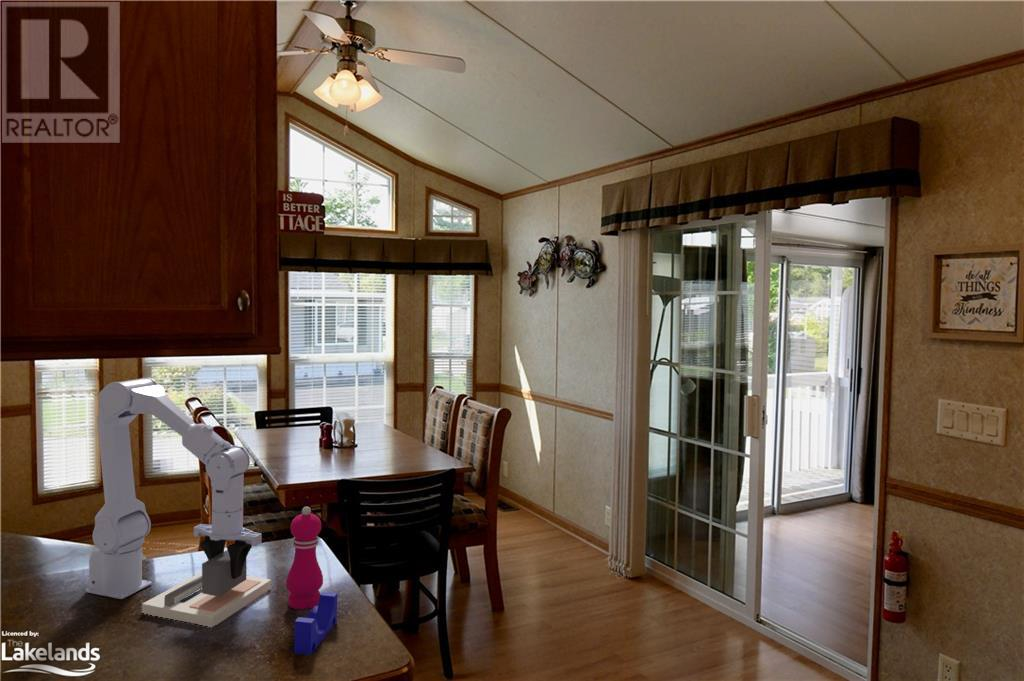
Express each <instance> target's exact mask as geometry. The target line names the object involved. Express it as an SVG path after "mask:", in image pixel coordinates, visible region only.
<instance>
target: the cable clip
mask: <svg viewBox="0 0 1024 681" xmlns="http://www.w3.org/2000/svg"><path fill="white" fill-rule="evenodd" d="M310 609H311V610H309V612H308V615H307V617H301V616H300V617H299V616H298V617H297V618H296V620H294V645H293V646H294V647H293V648H294V649H293V654H298V655H299V654H301V655H308V656H311V655H312V654H313V653H314V652H315V650H316V649H317V647H318V646H319V645H320V644H321V642H322V641H324V639H325V638H326V637H327V635H328V634H329V632H330V631H331V630H332V629H333V628H334V626H335V625H336V624H337V623H338V622H337V621H338V620H337V619H338V593H337V592H330V591H322V592H320V595H319V604H318V605H316V606H314V607H312V608H310Z"/></svg>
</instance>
